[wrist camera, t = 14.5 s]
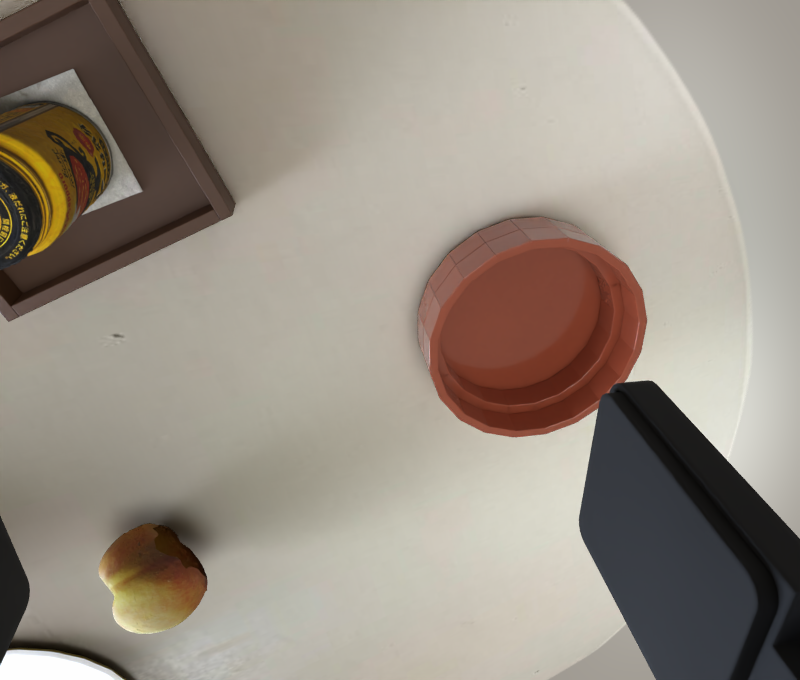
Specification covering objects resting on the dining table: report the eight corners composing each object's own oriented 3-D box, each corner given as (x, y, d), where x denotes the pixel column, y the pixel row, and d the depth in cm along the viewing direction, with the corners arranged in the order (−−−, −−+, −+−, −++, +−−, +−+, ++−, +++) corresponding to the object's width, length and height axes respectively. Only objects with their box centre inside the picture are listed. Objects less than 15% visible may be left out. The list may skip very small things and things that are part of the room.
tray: (103, -24, 33) (90, -26, 31) (236, 203, 40) (232, 215, 37) (-147, 104, 34) (-177, 111, 32) (23, 305, 41) (8, 322, 38)
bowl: (415, 222, 42) (429, 247, 38) (627, 208, 44) (664, 230, 39) (417, 408, 49) (429, 447, 45) (599, 389, 51) (627, 425, 47)
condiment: (143, 190, 38) (86, 260, 27) (16, 240, 38) (-88, 328, 28) (74, 68, 34) (-22, 94, 24) (-66, 124, 34) (-221, 174, 24)
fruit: (129, 490, 49) (102, 571, 42) (230, 519, 52) (220, 599, 45) (98, 556, 51) (67, 642, 44) (195, 580, 54) (181, 664, 47)
